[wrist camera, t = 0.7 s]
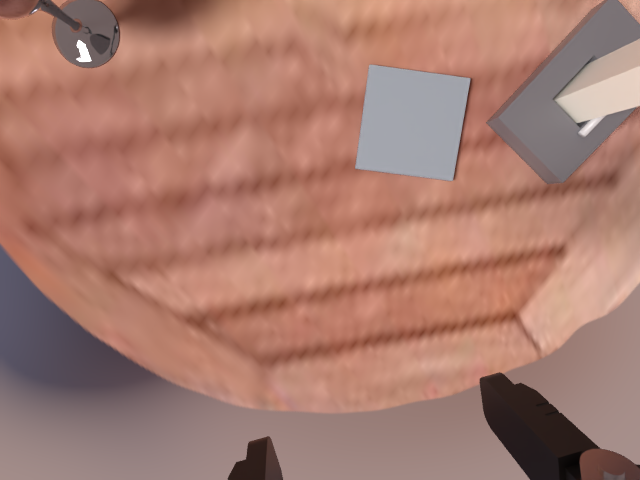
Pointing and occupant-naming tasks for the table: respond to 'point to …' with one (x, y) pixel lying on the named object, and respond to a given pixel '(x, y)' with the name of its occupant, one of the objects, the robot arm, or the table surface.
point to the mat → (411, 122)
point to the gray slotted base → (547, 81)
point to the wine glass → (73, 28)
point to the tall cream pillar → (603, 85)
